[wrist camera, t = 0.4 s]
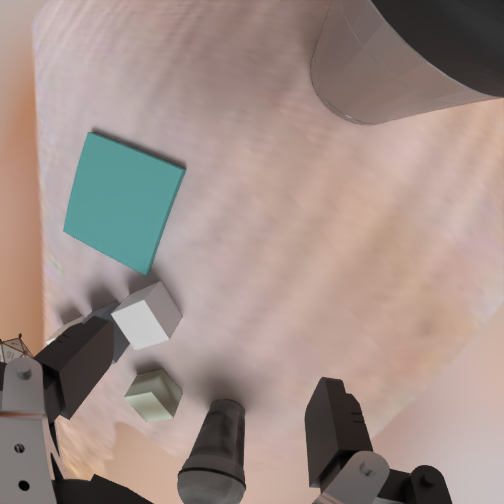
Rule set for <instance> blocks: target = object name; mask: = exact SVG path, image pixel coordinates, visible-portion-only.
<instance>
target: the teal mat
mask: <svg viewBox="0 0 504 504" xmlns="http://www.w3.org/2000/svg"><path fill="white" fill-rule="evenodd" d="M185 171H186V169H184V168H181V167H179V166H177V165H174V164H172V163H169V162H167V161H165V160H162V159H160V158H157V157H155V156H152V155H150V154H147V153H145V152H142V151H140V150H137V149H135V148H132V147H130V146H127V145H125V144H122V143H120V142H117V141H114V140H112V139H109V138H107V137H104V136H101V135H99V134H96V133H91V132H88V134H87V137H86V140H85V143H84V147H83V150H82V153H81V157H80V160H79V164H78V167H77V171H76V175H75V179H74V183H73V187H72V191H71V195H70V200H69V204H68V209H67V214H66V219H65V224H64V230H63V231H64V232H65V233H67V234H69V235H71V236H72V237H74V238H76V239H78V240H80V241H81V242H83V243H85V244H87V245H89V246H90V247H92V248H94V249H96V250H98V251H100V252H101V253H103V254H105V255H107V256H109V257H111V258H113V259H115V260H116V261H118V262H120V263H122V264H124V265H126V266H128V267H130V268H132V269H134V270H136V271H138V272H140V273H142V274H144V275H147V274H148V273H149V272H150V269H151V266H152V263H153V260H154V257H155V254H156V251H157V248H158V245H159V242H160V239H161V236H162V233H163V230H164V227H165V225H166V222H167V219H168V216H169V213H170V211H171V208H172V205H173V203H174V200H175V197H176V195H177V192H178V189H179V187H180V184H181V182H182V179H183V177H184V174H185Z"/></svg>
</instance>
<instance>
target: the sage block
mask: <svg viewBox="0 0 504 504" xmlns="http://www.w3.org/2000/svg"><path fill="white" fill-rule="evenodd" d="M182 395H183V393H182V392H181V391H180V389H179V388H178V387H177V385H176V384H175V383H174V382H173V380H172V379H171V378H170V376H169V375H168V374H167V372H166V371H165V370H164V368H163V369H159V370H155V371H151V372H147V373H143V374H139V375H137V376H136V378H135V379H134V381H133V383H132V385H131V386H130V388H129V390H128V391H127V393H126V395H125V396H124V398H125V399H126V400H127V401H128V402H129V404H130V405H131V406H132V407H133V408H134V409H135V410H136V412H137V413H138V414H139V415H140V416H141V417H142V418H143V419H144V420H145V421H146V422H147V421H155V420H162V419H169V418H174V415H175V413H176V410H177V407H178V405H179V402H180V400H181V397H182Z"/></svg>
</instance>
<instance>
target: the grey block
mask: <svg viewBox="0 0 504 504" xmlns="http://www.w3.org/2000/svg"><path fill="white" fill-rule="evenodd" d="M111 315H112V317H113V318H114V320H115V321H116V323H117V324H118V326H119V327H120V329H121V330H122V332H123V333H124V335H125V336H126V338H127V339H128V341H129V342H130V344H131V345H132V346H133V348H134V349H135V350H138V349H142V348H145V347H148V346H151V345H154V344H157V343H160V342H163V341H167V340H170V338H171V336H172V334H173V333H174V331H175V329H176V327H177V326H178V324H179V322H180V320H181V319H182V317H183V316H182V314H181V313H180V311H179V309H178V308H177V306H176V305H175V303H174V301H173V300H172V298H171V296H170V295H169V293H168V291H167V290H166V288H165V286H164V284H163V283H162V281H158V282H156V283H154V284H152V285H150V286H147V287H145V288H143V289H141V290H139V291H136V292H134V293H132V294H130V295H129V296H128V297H127V298H126V299H125V300H124V301H123V302H122V303H121V304H120V305H119V306H118V307H117V308H116V309H115V310H114V311H113V312H112V313H111Z"/></svg>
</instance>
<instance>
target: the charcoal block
mask: <svg viewBox="0 0 504 504" xmlns="http://www.w3.org/2000/svg"><path fill="white" fill-rule="evenodd" d="M119 305H120V304H119V303H118V301H117V300H116V301H114V302H112V303H110V304H108V305H106V306H103V307H101V308H99V309H97V310H95V311H92V312H91V313H90V314H89V315H88V316H87V317H86V318H85V319H84V320H83V321H82V322H81V323H83V324H84V323H86V322H87V321H88V320H89V319H90V318H91V317H92V316H94V315H97V316H99V317H102V318H105V319H107V320H110V321H112V322H113V324H114V356H113V360H112V363H111V364H115V363H116V362H117V361H118V359H119V358H120V357H121V355H122V354H123V352H124V351H125V350H126V348H127V347H128V346H129V344H130V342H129V341H128V339H127V338H126V336H125V335H124V333H123V332H122V330H121V329H120V327H119V326H118V324H117V323H116V321H115V320H114V318H113V317H112V315H111V313H112V312H113V311H114V310H115V309H116V308H117V307H118V306H119Z"/></svg>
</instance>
